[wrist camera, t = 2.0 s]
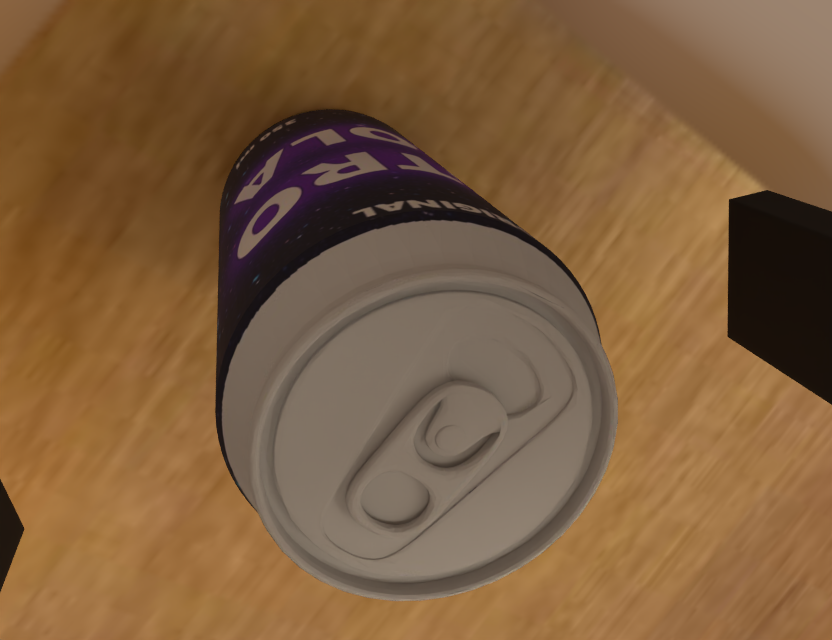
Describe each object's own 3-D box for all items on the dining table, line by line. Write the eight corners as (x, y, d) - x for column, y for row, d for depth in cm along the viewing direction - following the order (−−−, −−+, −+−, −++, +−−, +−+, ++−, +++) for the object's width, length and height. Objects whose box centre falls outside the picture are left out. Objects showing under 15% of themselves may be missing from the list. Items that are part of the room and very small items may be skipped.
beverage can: (469, 193, 21) (724, 397, 10) (344, 344, 22) (459, 676, 11) (308, 56, 19) (420, 135, 8) (176, 232, 20) (116, 517, 9)
